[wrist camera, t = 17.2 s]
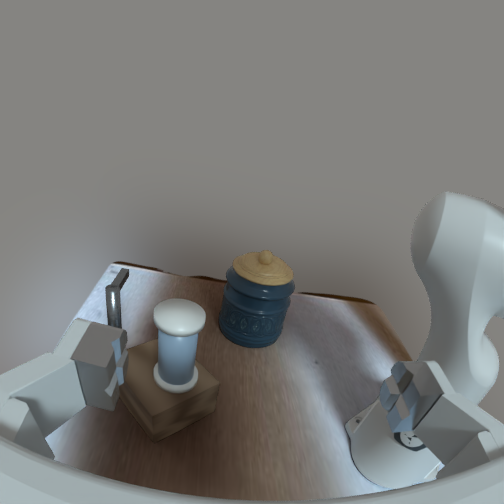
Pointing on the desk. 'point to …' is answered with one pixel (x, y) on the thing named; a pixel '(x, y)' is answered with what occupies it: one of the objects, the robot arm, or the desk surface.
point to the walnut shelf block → (164, 395)
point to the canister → (256, 299)
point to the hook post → (115, 299)
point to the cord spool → (177, 344)
